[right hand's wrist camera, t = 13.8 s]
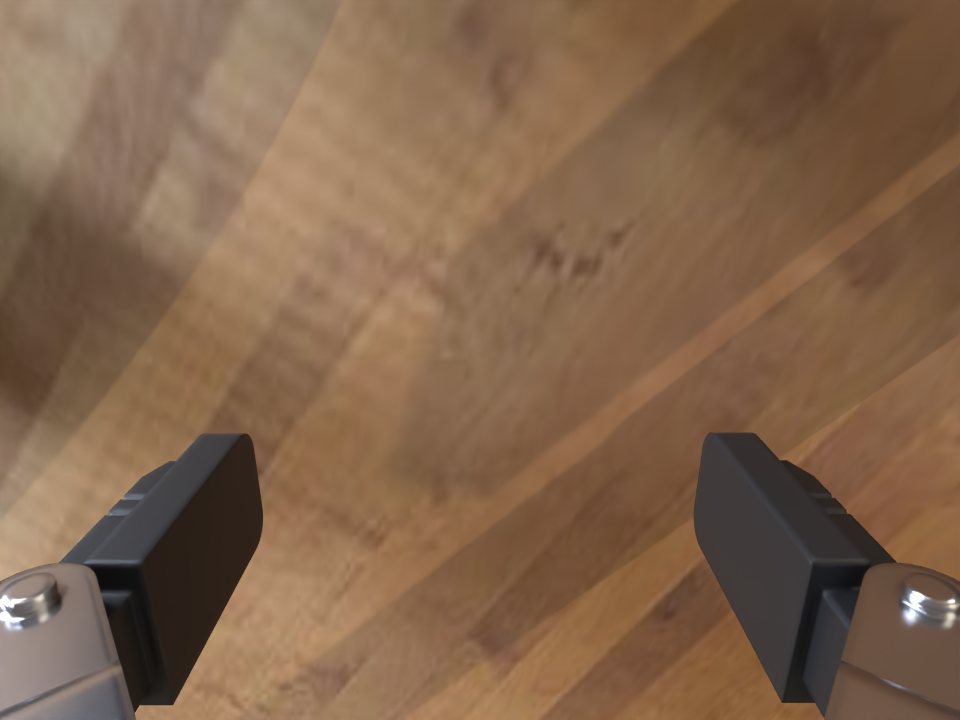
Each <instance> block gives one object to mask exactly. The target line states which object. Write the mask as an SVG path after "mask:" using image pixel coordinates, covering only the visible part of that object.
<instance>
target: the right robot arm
mask: <svg viewBox="0 0 960 720" xmlns="http://www.w3.org/2000/svg"><path fill="white" fill-rule="evenodd" d="M262 526H263V509H262V502H261V495H260V488H259V481H258V474H257V467H256V459H255V452H254V446H253V442H252V440H251V438H250V436H249V435H248V434H202V435H200V436H199V437H198V438H197V439H196V440H195V441H194V443H193V444H192V445H191V446H190V447H189V448H188V449H187V450H186V451H185V452H184V453H183V455H182V456H181V457H180V458H179V459H178V460H177V461H169V462H168V463H166V464H164V465H162V466H161V467H159V468H157V469H156V470H154V471H152V472H150V473H149V474H147V475H145V476H143V477H142V478H141V479H140V480H139V481H138V482H137V483H136V484H135V485H134V486H133V487H132V488H131V489H130V490H129V491H128V492H127V493H126V494H125V495H124V500H120V501H119V502H118V503H117V504H116V505H115V506H114V507H113V508H112V509H111V510H110V511H109V515H108V516H104V517H103V518H102V519H101V520H100V521H99V522H98V523H97V524H96V525H95V526H94V527H93V528H92V529H91V530H90V531H89V532H88V533H87V535H86V536H85V537H84V538H83V539H82V540H81V541H80V542H79V543H78V544H77V545H76V546H75V547H74V548H73V549H72V550H71V551H70V552H69V553H68V554H67V555H66V556H65V557H64V558H63V559H62V560H61V561H60V562H59V563H55V564H48V565H43V566H38V567H35V568H32V569H28V570H25V571H23V572H20V573H17V574H15V575H13V576H10V577H8V578H6V579H4V580H2V581H0V720H136V718H135V714H134V713H135V712H136V710H137V708H138V707H139V705H173V704H174V702H175V700H176V699H177V697H178V695H179V693H180V691H181V689H182V687H183V685H184V684H185V682H186V680H187V678H188V676H189V674H190V672H191V670H192V669H193V667H194V665H195V663H196V661H197V659H198V657H199V655H200V654H201V652H202V650H203V648H204V646H205V644H206V642H207V640H208V639H209V637H210V635H211V633H212V631H213V629H214V627H215V625H216V624H217V622H218V620H219V618H220V616H221V614H222V612H223V610H224V609H225V607H226V605H227V603H228V601H229V599H230V597H231V595H232V594H233V592H234V590H235V588H236V586H237V584H238V582H239V580H240V578H241V577H242V575H243V573H244V571H245V569H246V567H247V565H248V563H249V562H250V560H251V558H252V556H253V554H254V552H255V550H256V548H257V546H258V544H259V541H260V537H261V533H262ZM694 527H695V533H696V537H697V541H698V544H699V546H700V548H701V550H702V552H703V554H704V556H705V557H706V559H707V561H708V563H709V565H710V567H711V569H712V571H713V573H714V575H715V576H716V578H717V580H718V582H719V584H720V586H721V588H722V590H723V592H724V594H725V595H726V597H727V599H728V601H729V603H730V605H731V607H732V609H733V611H734V613H735V614H736V616H737V618H738V620H739V622H740V624H741V626H742V628H743V630H744V632H745V633H746V635H747V637H748V639H749V641H750V643H751V645H752V647H753V649H754V651H755V652H756V654H757V656H758V658H759V660H760V662H761V664H762V666H763V668H764V670H765V671H766V673H767V675H768V677H769V679H770V681H771V683H772V685H773V687H774V689H775V690H776V692H777V694H778V696H779V698H780V700H781V702H782V703H816V705H817V707H818V708H819V710H820V712H821V713H822V715H823V717H824V720H960V581H958V580H956V579H954V578H952V577H950V576H947V575H945V574H943V573H940V572H937V571H935V570H932V569H928V568H925V567H922V566H917V565H912V564H905V563H897V562H896V561H895V560H894V559H893V558H892V557H891V556H890V555H889V554H888V553H887V552H886V551H885V550H884V549H883V548H882V547H881V545H880V544H879V543H878V542H877V541H876V540H875V539H874V538H873V537H872V536H871V535H870V534H869V533H868V532H867V531H866V530H865V529H864V528H863V527H862V526H861V525H860V524H859V523H858V522H857V521H856V519H855V518H854V517H853V516H852V515H851V514H847V513H846V509H845V508H844V507H843V506H842V505H841V504H840V503H839V502H838V501H837V500H836V499H835V498H832V497H831V493H830V492H829V491H828V490H827V489H826V488H825V487H824V486H823V485H822V484H821V483H820V482H819V481H818V480H817V479H816V478H815V477H814V476H813V475H811V474H809V473H808V472H806V471H804V470H802V469H801V468H799V467H797V466H795V465H794V464H792V463H790V462H789V461H787V460H779V459H778V458H777V457H776V456H775V455H774V454H773V452H772V451H771V450H770V449H769V448H768V447H767V446H766V445H765V444H764V442H763V441H762V440H761V439H760V438H759V437H758V436H757V435H756V434H754V433H709V434H708V435H707V436H706V438H705V440H704V443H703V448H702V456H701V463H700V470H699V477H698V484H697V491H696V499H695V506H694Z"/></svg>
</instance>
